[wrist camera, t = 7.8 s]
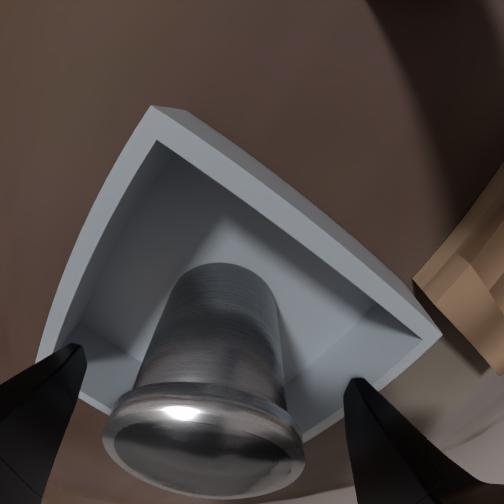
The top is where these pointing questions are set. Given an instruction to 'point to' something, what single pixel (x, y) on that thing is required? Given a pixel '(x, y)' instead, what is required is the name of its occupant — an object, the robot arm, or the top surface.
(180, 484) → the plug
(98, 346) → the bin
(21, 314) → the top surface
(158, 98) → the top surface
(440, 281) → the socket block
